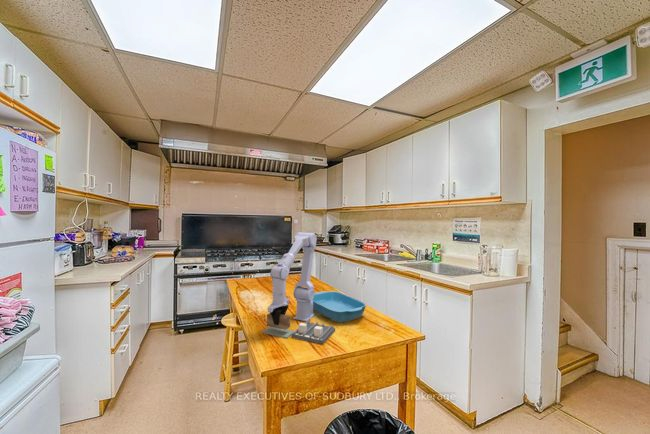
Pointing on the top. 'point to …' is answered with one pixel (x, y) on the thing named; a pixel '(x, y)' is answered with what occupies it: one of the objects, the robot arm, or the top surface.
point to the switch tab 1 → (302, 328)
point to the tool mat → (278, 332)
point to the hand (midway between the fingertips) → (278, 322)
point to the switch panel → (310, 333)
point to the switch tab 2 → (318, 331)
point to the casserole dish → (338, 306)
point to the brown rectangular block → (283, 321)
